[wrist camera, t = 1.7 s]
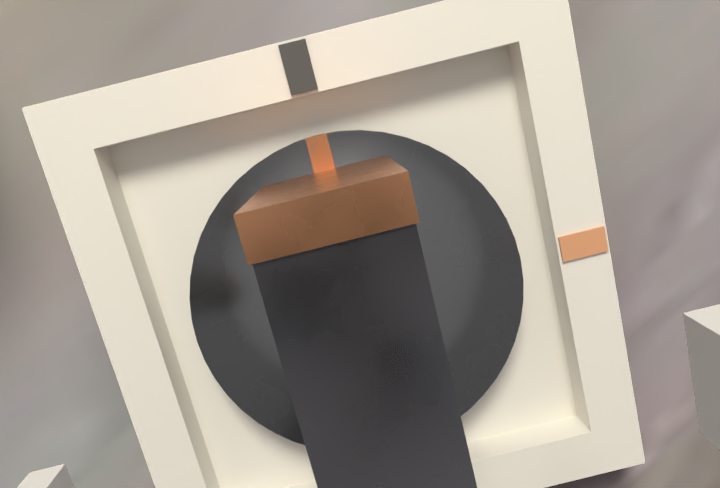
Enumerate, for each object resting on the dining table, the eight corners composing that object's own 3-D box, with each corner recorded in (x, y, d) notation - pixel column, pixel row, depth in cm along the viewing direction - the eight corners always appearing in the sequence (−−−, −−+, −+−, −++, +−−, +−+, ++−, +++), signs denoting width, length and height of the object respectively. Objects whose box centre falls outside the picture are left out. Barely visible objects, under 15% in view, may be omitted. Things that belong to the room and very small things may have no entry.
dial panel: (618, 433, 29) (646, 464, 26) (199, 536, 29) (185, 577, 26) (540, -16, 25) (564, -31, 22) (52, 108, 25) (19, 107, 22)
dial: (538, 393, 27) (631, 519, 19) (248, 465, 27) (209, 622, 19) (478, 94, 24) (554, 81, 16) (156, 174, 24) (62, 205, 16)
